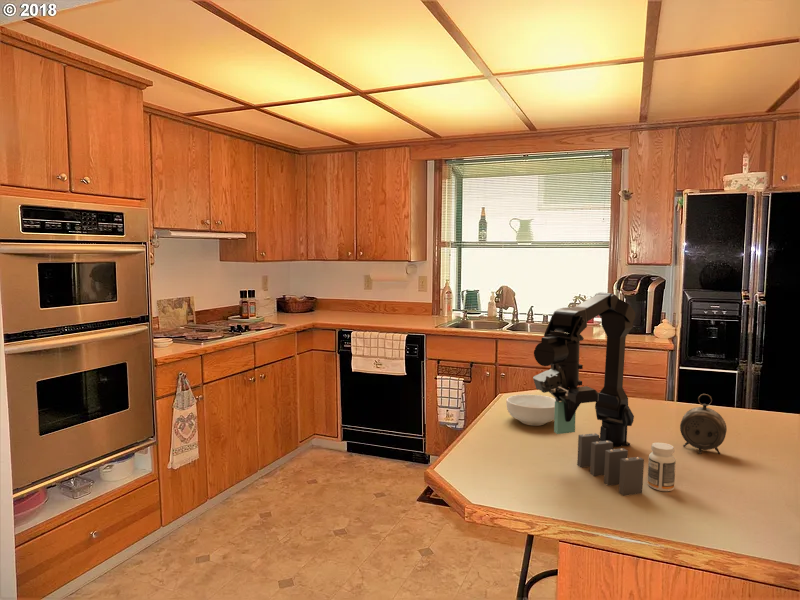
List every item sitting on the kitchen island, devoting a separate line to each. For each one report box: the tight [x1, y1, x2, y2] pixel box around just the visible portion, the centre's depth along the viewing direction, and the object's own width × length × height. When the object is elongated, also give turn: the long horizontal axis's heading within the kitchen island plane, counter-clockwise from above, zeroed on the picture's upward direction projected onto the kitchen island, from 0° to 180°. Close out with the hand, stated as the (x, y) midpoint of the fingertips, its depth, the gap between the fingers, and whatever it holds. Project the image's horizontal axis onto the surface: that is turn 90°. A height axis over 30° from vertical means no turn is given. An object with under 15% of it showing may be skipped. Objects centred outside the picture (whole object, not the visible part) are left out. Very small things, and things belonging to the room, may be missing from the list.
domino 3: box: [589, 441, 614, 477], centre depth 136 cm, size 5×2×8 cm, turn 105°
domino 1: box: [553, 401, 576, 435], centre depth 140 cm, size 5×2×8 cm, turn 105°
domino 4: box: [603, 448, 629, 487], centre depth 131 cm, size 5×2×8 cm, turn 105°
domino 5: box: [618, 456, 645, 497], centre depth 126 cm, size 5×2×8 cm, turn 105°
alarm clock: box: [679, 393, 728, 455], centre depth 151 cm, size 11×5×16 cm, turn 56°
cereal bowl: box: [505, 393, 556, 427], centre depth 177 cm, size 17×17×7 cm
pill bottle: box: [647, 441, 677, 492], centre depth 129 cm, size 6×6×10 cm
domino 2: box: [576, 432, 600, 468], centre depth 141 cm, size 5×2×8 cm, turn 105°
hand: (565, 420), depth 140 cm, fingers closed on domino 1, 2 cm apart
